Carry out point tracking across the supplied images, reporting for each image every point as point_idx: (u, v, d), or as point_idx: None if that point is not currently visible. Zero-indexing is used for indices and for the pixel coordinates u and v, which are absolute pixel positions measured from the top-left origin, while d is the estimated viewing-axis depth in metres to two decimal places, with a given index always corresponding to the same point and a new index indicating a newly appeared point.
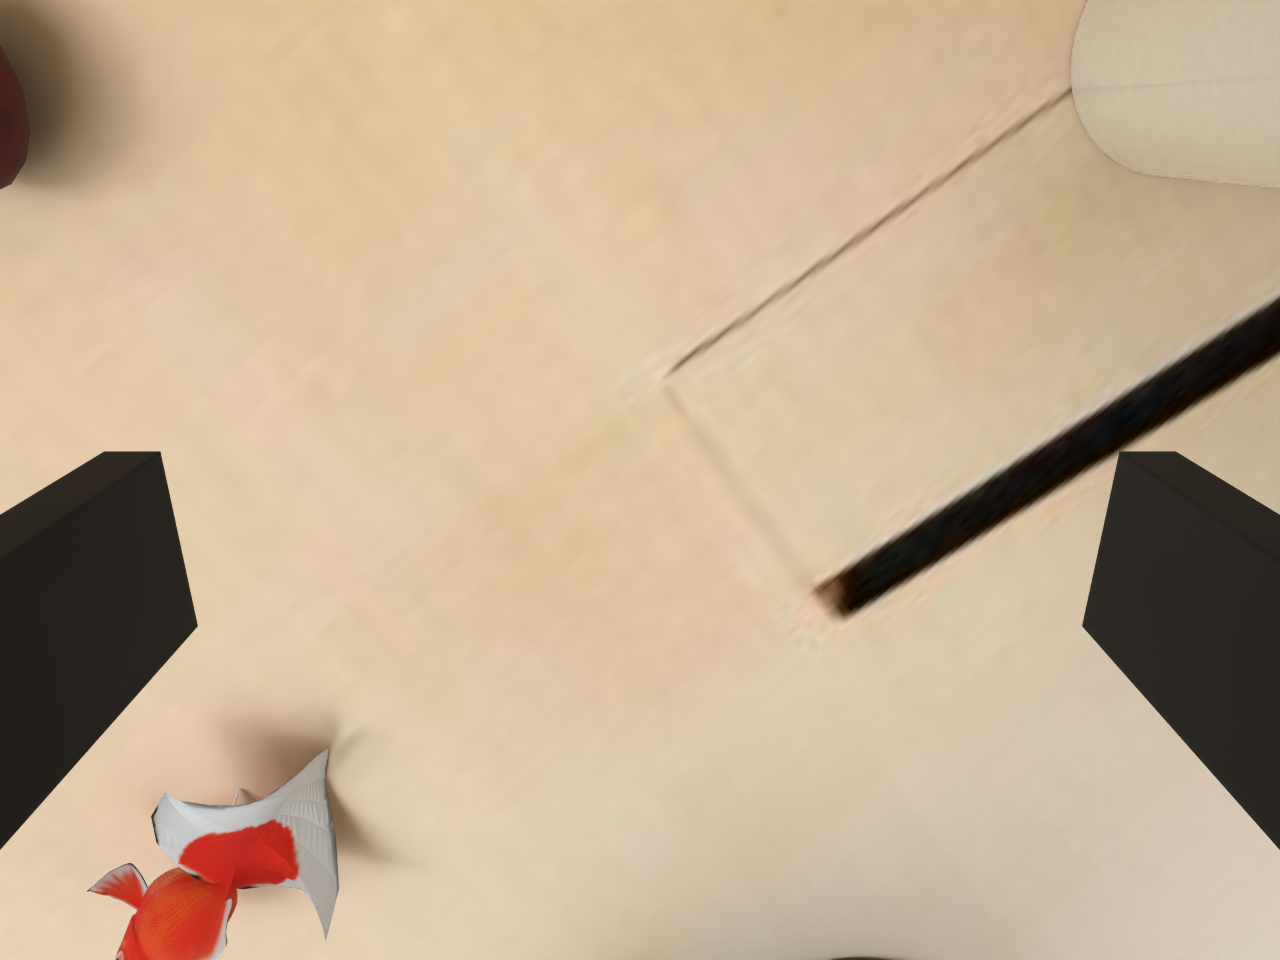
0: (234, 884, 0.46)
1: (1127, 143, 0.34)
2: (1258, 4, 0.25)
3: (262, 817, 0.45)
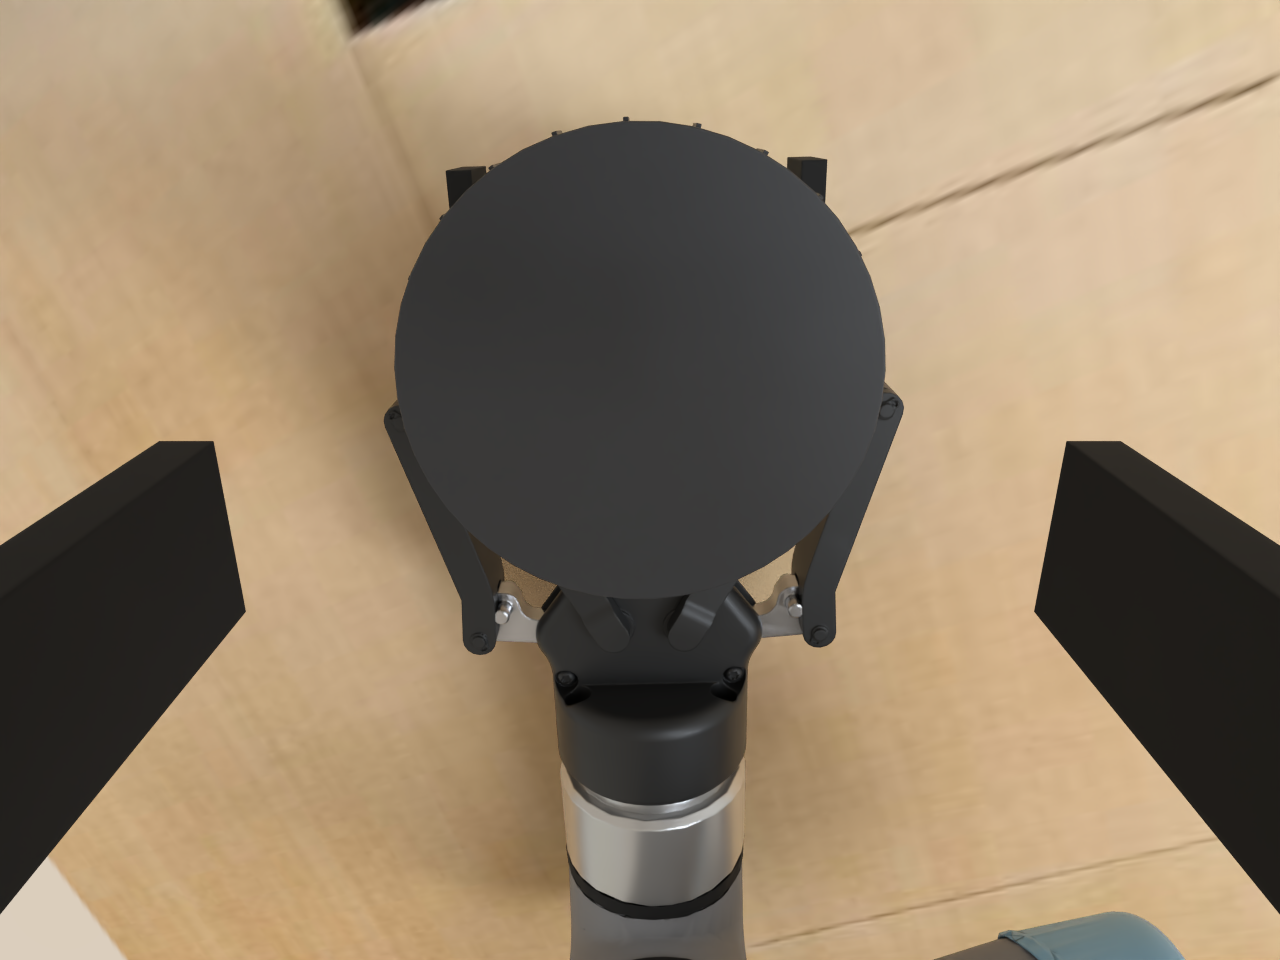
0: None
1: None
2: None
3: None
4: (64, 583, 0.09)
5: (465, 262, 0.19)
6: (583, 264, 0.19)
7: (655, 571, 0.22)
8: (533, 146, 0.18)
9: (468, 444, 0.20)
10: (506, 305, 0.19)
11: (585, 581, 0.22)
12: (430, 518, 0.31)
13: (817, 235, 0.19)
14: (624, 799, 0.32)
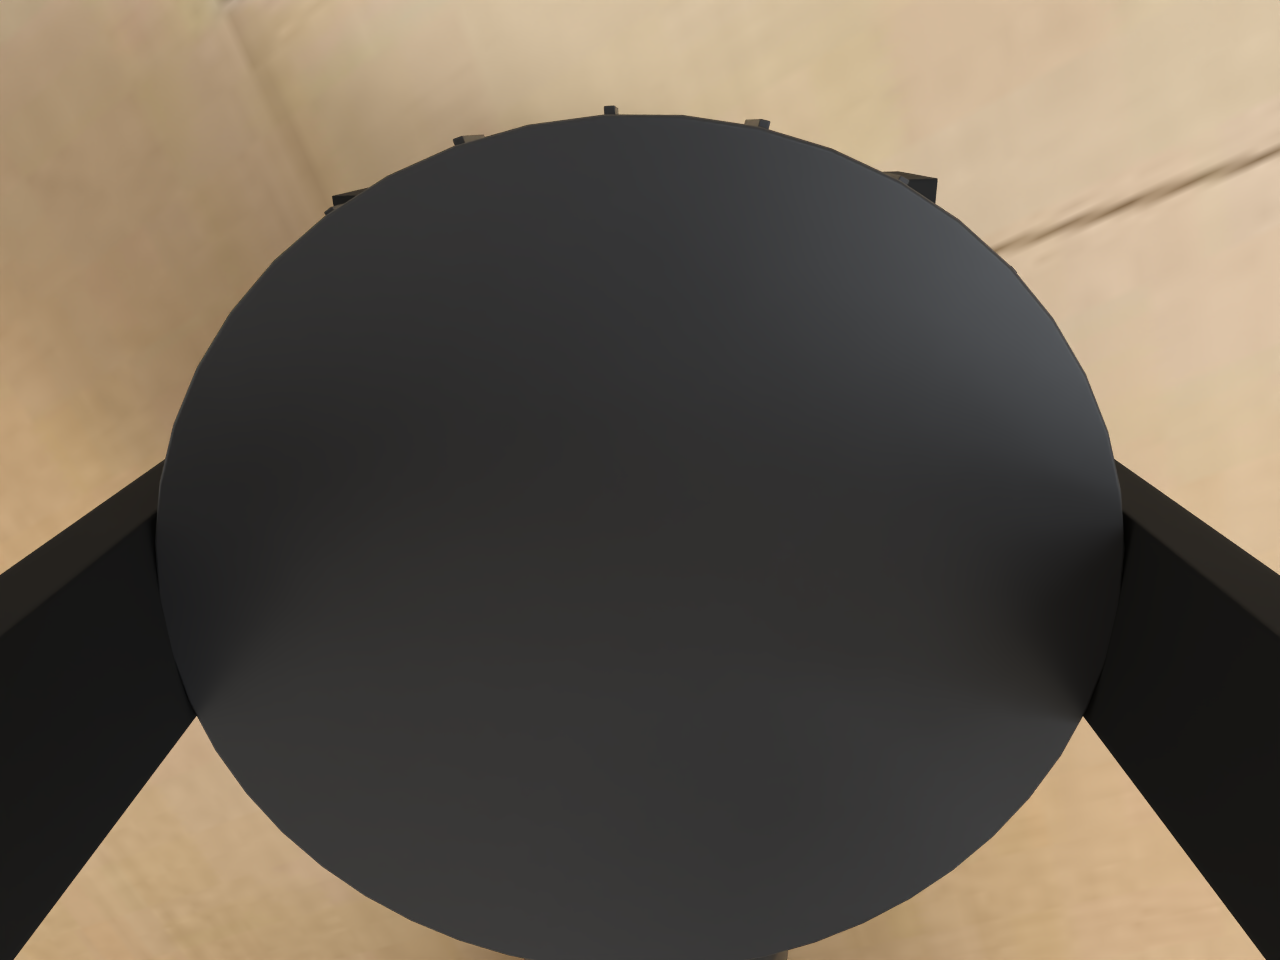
0: None
1: None
2: None
3: None
4: (123, 569, 0.09)
5: (281, 405, 0.09)
6: (523, 408, 0.09)
7: (667, 930, 0.12)
8: (409, 169, 0.08)
9: (313, 730, 0.11)
10: (370, 485, 0.10)
11: (541, 945, 0.12)
12: None
13: (1007, 352, 0.09)
14: None
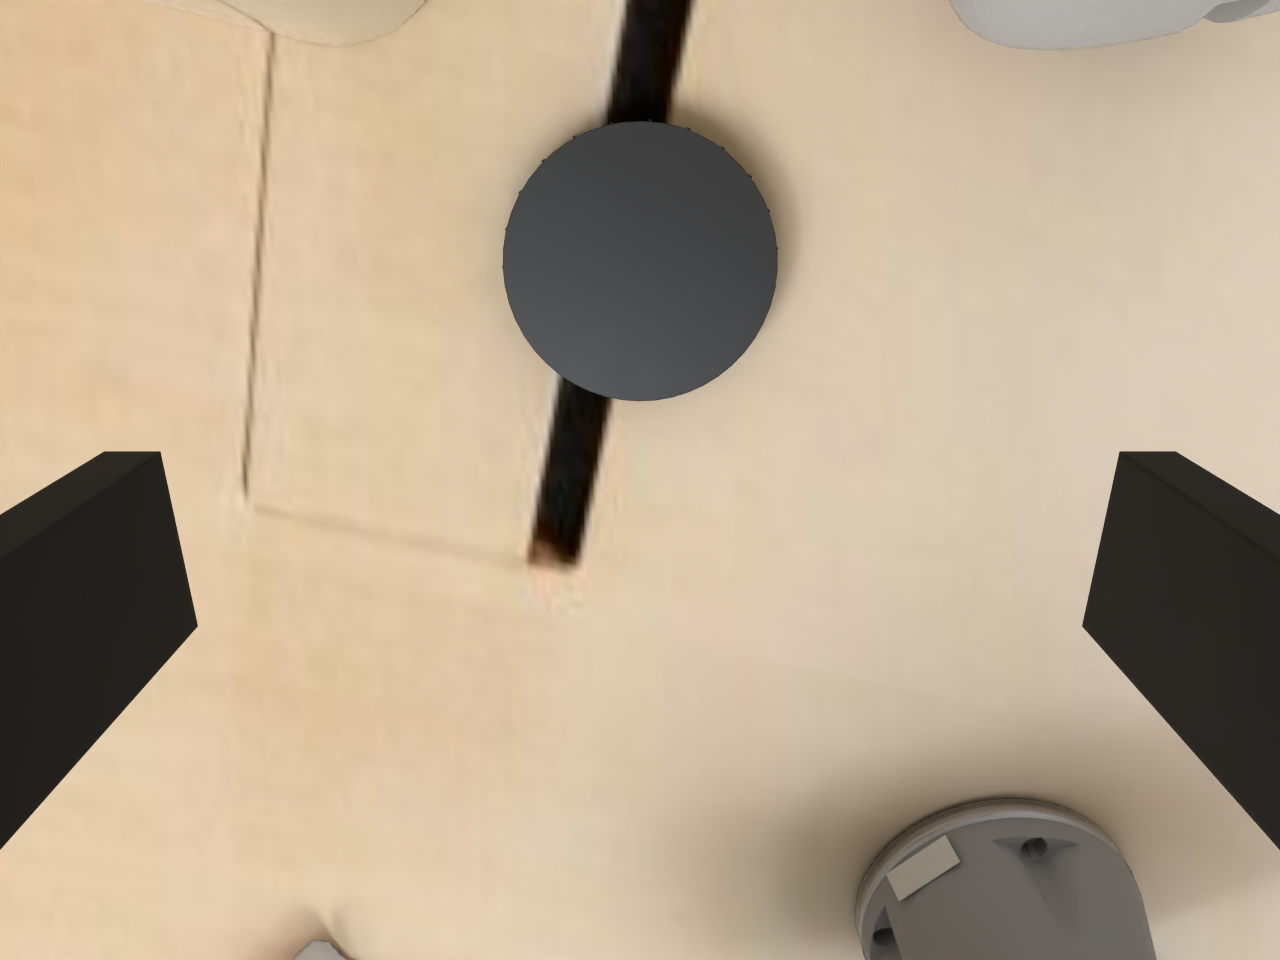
0: None
1: (306, 39, 0.32)
2: None
3: None
4: None
5: (744, 214, 0.35)
6: (712, 272, 0.35)
7: (528, 223, 0.35)
8: (775, 277, 0.36)
9: (653, 158, 0.34)
10: (713, 223, 0.35)
11: (540, 178, 0.34)
12: None
13: (669, 385, 0.37)
14: None
